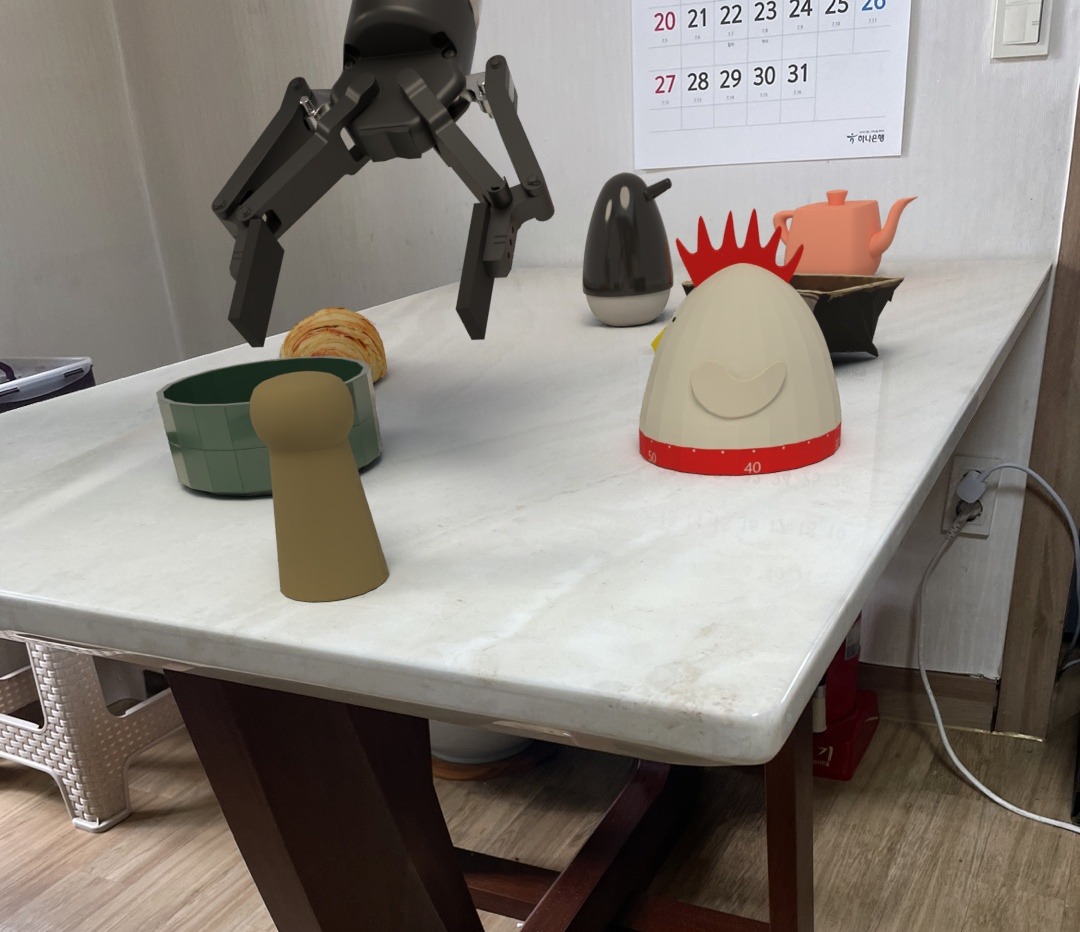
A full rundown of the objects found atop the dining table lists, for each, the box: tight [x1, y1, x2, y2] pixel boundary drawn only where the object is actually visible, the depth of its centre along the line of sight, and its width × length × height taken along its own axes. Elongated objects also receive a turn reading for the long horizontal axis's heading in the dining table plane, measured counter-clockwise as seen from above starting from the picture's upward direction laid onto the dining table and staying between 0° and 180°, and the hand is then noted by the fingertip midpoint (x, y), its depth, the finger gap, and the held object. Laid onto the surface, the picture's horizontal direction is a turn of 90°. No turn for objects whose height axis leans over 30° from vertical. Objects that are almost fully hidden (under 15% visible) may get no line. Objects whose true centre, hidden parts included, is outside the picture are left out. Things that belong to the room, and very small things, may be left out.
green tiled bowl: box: [155, 356, 383, 497], centre depth 76 cm, size 15×15×6 cm
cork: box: [250, 371, 390, 603], centre depth 55 cm, size 6×6×11 cm
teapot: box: [772, 189, 918, 276], centre depth 129 cm, size 12×18×10 cm, turn 56°
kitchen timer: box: [638, 208, 843, 476], centre depth 70 cm, size 14×14×15 cm
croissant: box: [278, 306, 388, 383], centre depth 102 cm, size 21×10×8 cm, turn 8°
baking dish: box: [680, 273, 906, 359], centre depth 92 cm, size 14×18×10 cm
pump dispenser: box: [581, 171, 674, 327], centre depth 115 cm, size 10×10×15 cm
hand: (354, 330), depth 57 cm, fingers open, 13 cm apart
